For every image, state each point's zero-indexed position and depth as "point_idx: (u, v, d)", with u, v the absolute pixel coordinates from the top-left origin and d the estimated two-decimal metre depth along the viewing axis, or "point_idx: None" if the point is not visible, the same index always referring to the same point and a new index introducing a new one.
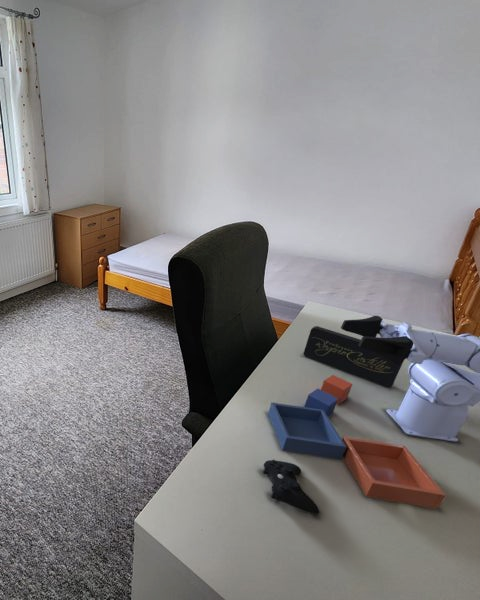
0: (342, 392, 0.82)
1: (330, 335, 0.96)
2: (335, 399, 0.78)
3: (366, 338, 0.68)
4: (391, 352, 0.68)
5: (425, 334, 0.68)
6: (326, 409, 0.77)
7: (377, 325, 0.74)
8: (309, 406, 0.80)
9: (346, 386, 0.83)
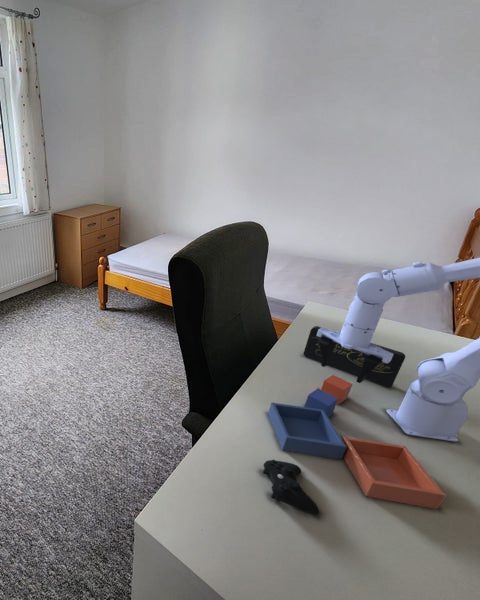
0: (342, 392, 0.82)
1: None
2: (335, 399, 0.78)
3: (359, 381, 0.79)
4: None
5: (357, 334, 0.76)
6: (326, 409, 0.77)
7: (330, 345, 0.83)
8: (309, 406, 0.80)
9: (346, 386, 0.83)
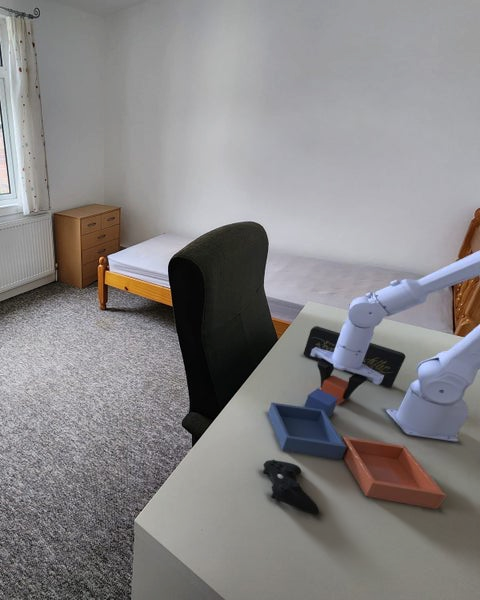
0: (342, 392, 0.82)
1: (330, 335, 0.96)
2: (335, 399, 0.78)
3: (345, 398, 0.83)
4: None
5: (348, 356, 0.79)
6: (326, 409, 0.77)
7: (329, 368, 0.84)
8: (309, 406, 0.80)
9: (346, 386, 0.83)
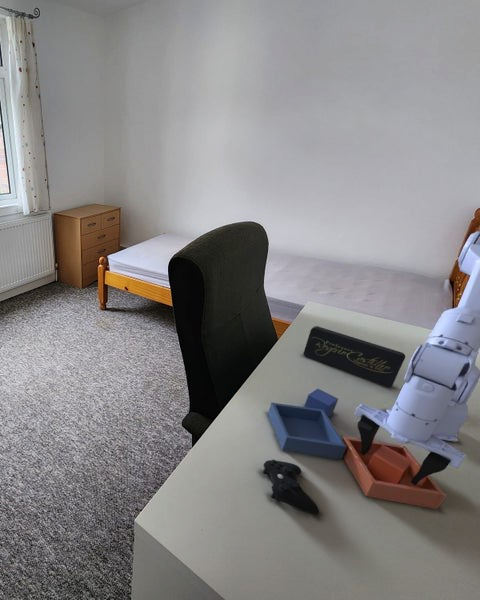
0: (400, 474, 0.61)
1: (330, 335, 0.96)
2: (335, 399, 0.78)
3: (415, 483, 0.60)
4: None
5: (414, 425, 0.57)
6: (326, 409, 0.77)
7: (373, 430, 0.64)
8: (309, 406, 0.80)
9: (405, 465, 0.61)
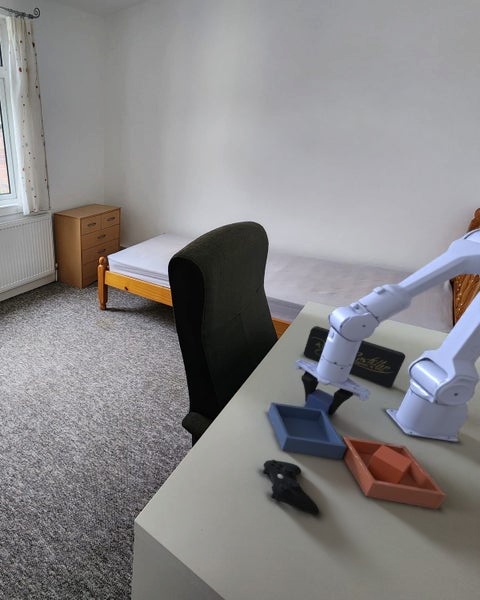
0: (400, 474, 0.61)
1: None
2: None
3: (330, 414, 0.78)
4: None
5: (333, 369, 0.74)
6: (326, 409, 0.77)
7: (313, 381, 0.79)
8: (309, 406, 0.80)
9: (405, 465, 0.61)
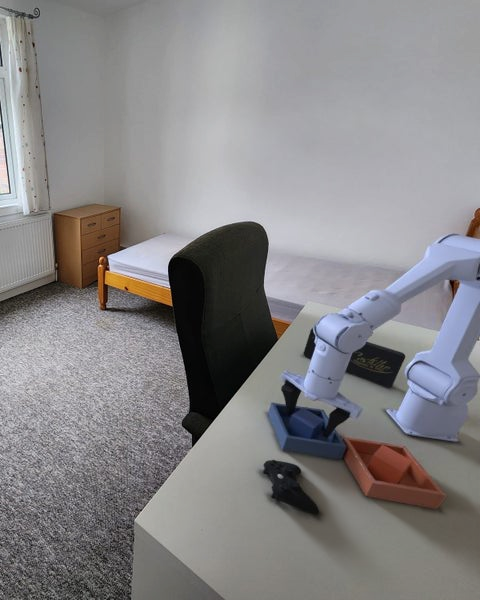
0: (400, 474, 0.61)
1: None
2: (321, 420, 0.71)
3: (326, 436, 0.69)
4: None
5: (321, 384, 0.66)
6: (311, 432, 0.70)
7: (294, 392, 0.73)
8: (293, 428, 0.73)
9: (405, 465, 0.61)
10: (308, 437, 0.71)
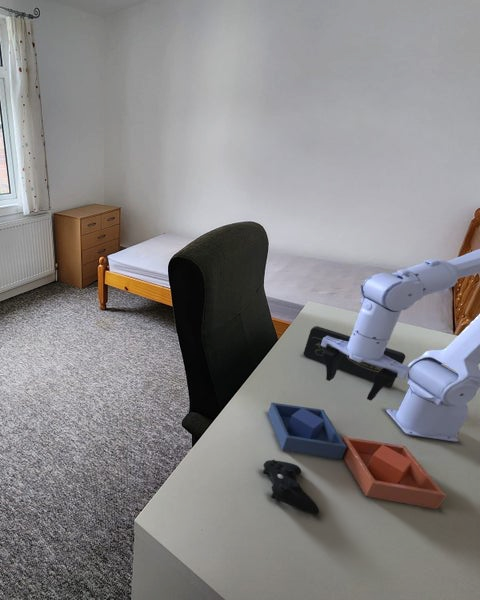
0: (400, 474, 0.61)
1: (330, 335, 0.96)
2: (321, 420, 0.71)
3: (370, 398, 0.69)
4: None
5: (368, 344, 0.66)
6: (311, 432, 0.70)
7: (336, 356, 0.73)
8: (293, 428, 0.73)
9: (405, 465, 0.61)
10: (308, 437, 0.71)
